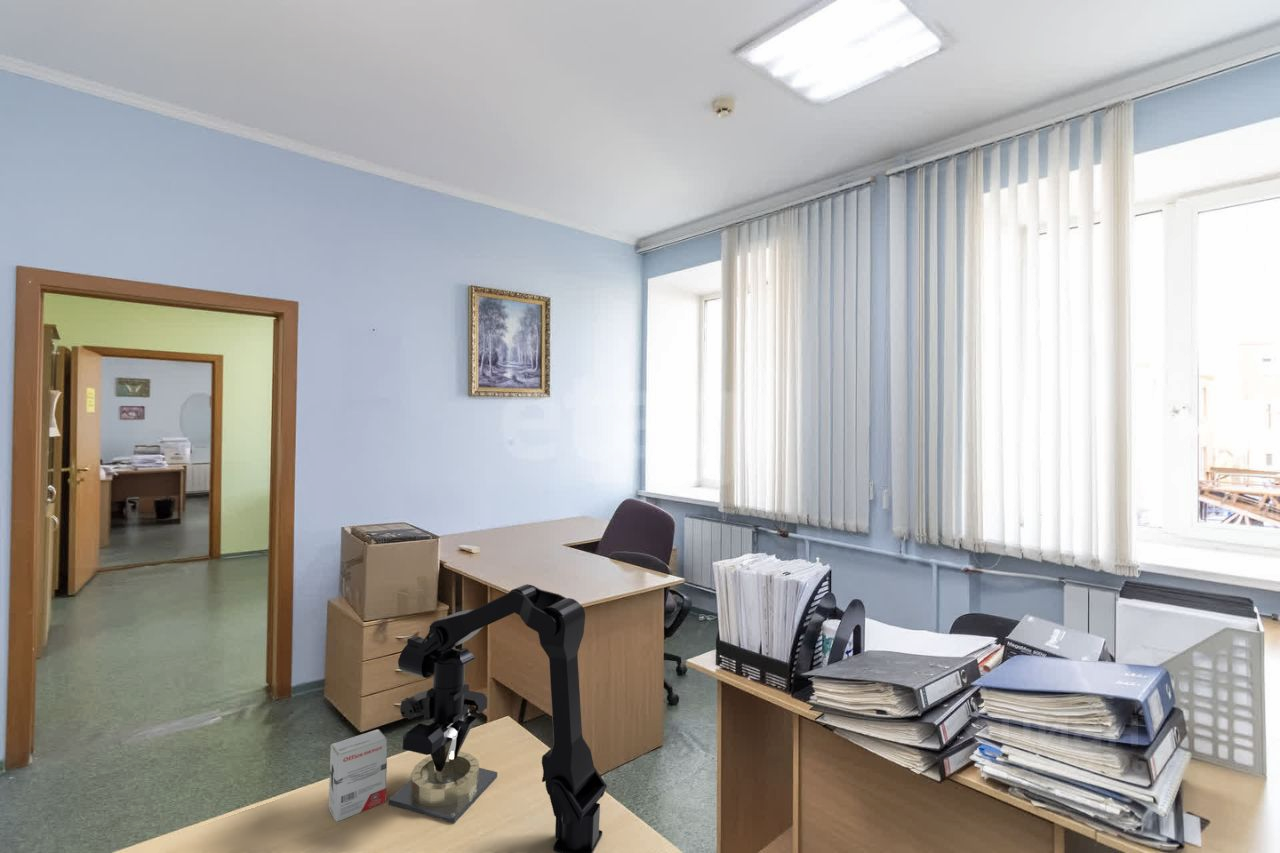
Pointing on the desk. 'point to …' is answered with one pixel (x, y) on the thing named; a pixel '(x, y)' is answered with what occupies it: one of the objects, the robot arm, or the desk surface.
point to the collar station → (444, 789)
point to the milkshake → (448, 759)
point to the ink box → (357, 774)
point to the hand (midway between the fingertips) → (446, 764)
